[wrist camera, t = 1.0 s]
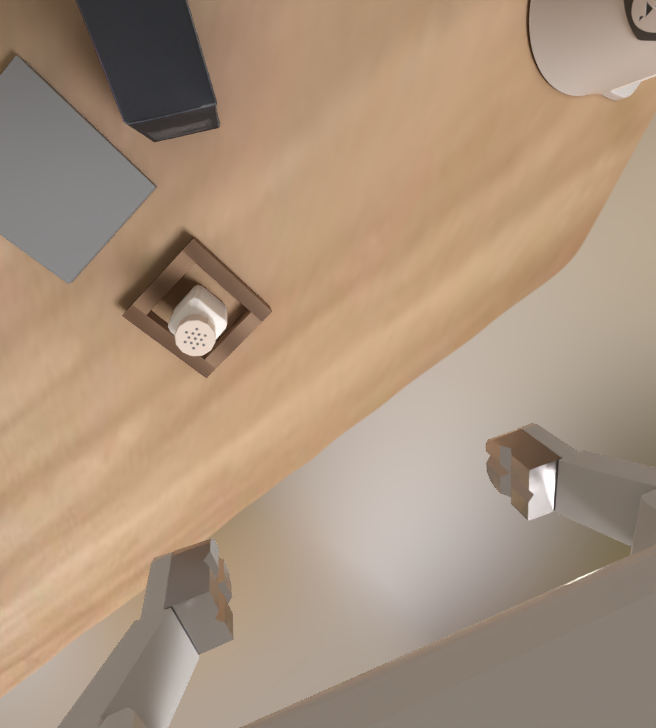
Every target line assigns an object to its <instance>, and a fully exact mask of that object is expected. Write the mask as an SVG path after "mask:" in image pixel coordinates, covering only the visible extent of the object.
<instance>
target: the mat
mask: <svg viewBox="0 0 656 728" xmlns="http://www.w3.org/2000/svg"><path fill="white" fill-rule="evenodd" d="M156 188H157V186H156V185H155V184H154V183H152V182H151V181H150V180H149V179H148V178H147V177H146V176H145V175H144V174H143V173H142V172H141V171H140V170H139V169H138V168H137V167H136V166H135V165H134V164H132V163H131V162H130V161H129V160H128V159H127V158H126V157H125V156H124V155H123V154H122V153H121V152H120V151H119V150H118V149H117V148H116V147H115V146H113V145H112V144H111V143H110V142H109V141H108V140H107V139H106V138H105V137H104V136H103V135H102V134H101V133H100V132H99V131H98V130H97V129H96V128H95V127H93V126H92V125H91V124H90V123H89V122H88V121H87V120H86V119H85V118H84V117H83V116H82V115H81V114H80V113H79V112H78V111H77V110H76V109H74V108H73V107H72V106H71V105H70V104H69V103H68V102H67V101H66V100H65V99H64V98H63V97H62V96H61V95H60V94H59V93H58V92H57V91H56V90H54V89H53V88H52V87H51V86H50V85H49V84H48V83H47V82H46V81H45V80H44V79H43V78H42V77H41V76H40V75H39V74H38V73H37V72H35V71H34V70H33V69H32V68H31V67H30V66H29V65H28V64H27V63H26V62H25V61H24V60H23V59H21V58H20V57H18V56H17V55H16V56H15V57H14V59H13V60H12V61H11V62H10V64H9V65H8V66H7V68H6V69H5V70H4V71H3V73H2V74H1V75H0V235H2V236H3V237H4V238H6V239H7V240H9V241H10V242H11V243H13V244H14V245H15V246H17V247H18V248H20V249H21V250H22V251H24V252H25V253H26V254H28V255H29V256H30V257H32V258H33V259H35V260H36V261H37V262H39V263H40V264H41V265H43V266H44V267H46V268H47V269H48V270H50V271H51V272H52V273H54V274H55V275H57V276H58V277H59V278H61V279H62V280H63V281H65V282H66V283H67V284H70V283H71V282H73V281H74V280H75V278H76V277H77V276H78V275H79V274H80V273H81V272H82V271H83V269H84V268H85V267H86V266H87V265H88V264H89V263H90V262H91V261H92V259H93V258H94V257H95V256H96V255H97V254H98V253H99V252H100V250H101V249H102V248H103V247H104V246H105V245H106V244H107V243H108V241H109V240H110V239H111V238H112V237H113V236H114V235H115V234H116V233H117V231H118V230H119V229H120V228H121V227H122V226H123V225H124V224H125V222H126V221H127V220H128V219H129V218H130V217H131V216H132V215H133V213H134V212H135V211H136V210H137V209H138V208H139V207H140V206H141V205H142V203H143V202H144V201H145V200H146V199H147V198H148V197H149V196H150V194H151V193H152V192H153V191H154V190H155V189H156Z"/></svg>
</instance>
